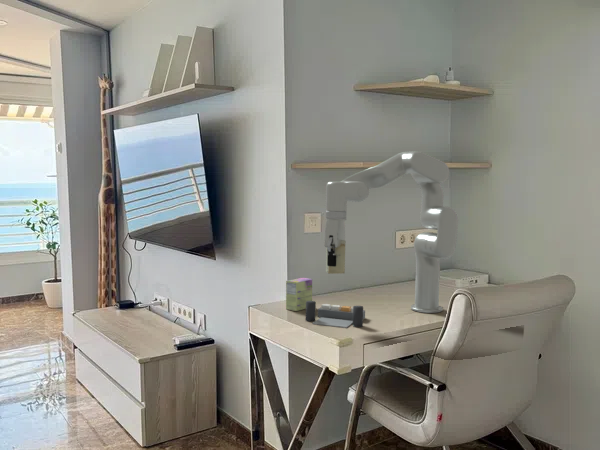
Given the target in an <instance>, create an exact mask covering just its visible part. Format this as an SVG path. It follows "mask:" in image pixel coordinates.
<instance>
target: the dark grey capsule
mask: <svg viewBox="0 0 600 450" xmlns="http://www.w3.org/2000/svg"><path fill="white" fill-rule="evenodd" d="M352 308H353V323H352V326H353V327H355V328H362V327H363V325H364V319H363V310H364V306H362V305H353V306H352Z"/></svg>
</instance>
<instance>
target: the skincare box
mask: <svg viewBox="0 0 600 450" xmlns="http://www.w3.org/2000/svg"><path fill="white" fill-rule="evenodd" d="M331 246H332V245H331ZM334 247H335V246H334ZM325 249H326V251H325V273H327V274H330V275H338V274H340V275H341V274H343V275H344V274H345V271H346V267H345V266H346V265H345V264H346V239H345V240H342V241H341V244H340V247H338V248H337V249H336V254H335V255H336V266H335V267H333V266H328V265H327V257H328V255H327V252H328V251H327V247H325ZM333 251H334V249H333Z"/></svg>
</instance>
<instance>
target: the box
mask: <svg viewBox="0 0 600 450" xmlns="http://www.w3.org/2000/svg"><path fill="white" fill-rule="evenodd" d="M285 292H286V293H285V309H286V310H288V311H293V312H298V311H301V310H306V301H313V279H312V278H308V277H299V278H295V279H290V280H289V279H288V280H285Z"/></svg>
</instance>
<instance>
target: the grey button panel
mask: <svg viewBox="0 0 600 450" xmlns="http://www.w3.org/2000/svg"><path fill="white" fill-rule="evenodd" d="M317 317H318V319H315V321H312V325H317V326H326V327H336V328H343V329H347V328H349V327H350V326H351V325H353V307H352V306H349V305H348V306H347V305H343V306H342V305H338V304H330V303H329V304H328V303H322V304H321V306H320V307H319V308H318V309H317ZM365 319H366V309H363V320H365Z"/></svg>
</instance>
